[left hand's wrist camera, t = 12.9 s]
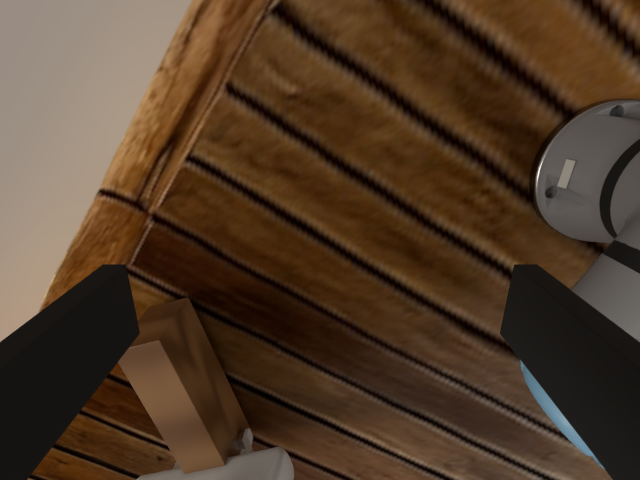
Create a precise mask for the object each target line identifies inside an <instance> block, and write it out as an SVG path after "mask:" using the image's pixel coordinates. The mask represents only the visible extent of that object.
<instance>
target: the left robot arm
mask: <svg viewBox="0 0 640 480" xmlns="http://www.w3.org/2000/svg"><path fill="white" fill-rule="evenodd" d="M530 196H531V201H532V204H533V206H534V209H535V211H536V213H537V214H538V216H539V217H540V218H541V219H542V221H543V222H545V223H546V224H547V225H548V226H549V227H551V228H552V229H554V230H556V231H558V232H560V233H562V234H563V235H566V236H568V237H571V238H574V239H578V240H583V241H591V242H604V243H611V244H610V245H609V246H608V247H607V249H606V250H605V251H604V252H603V253H602V254H601V255H600V256H599V257H598V258H597V260H596V261H595V262H594V263H593V264H592V265H591V267H590V268H589V269H588V270H587V271H586V272H585V274H584V275H583V276H582V277H581V278H580V280H579V281H578V282H577V283H576V284H575V285H574V287H573V288H572V289H571V290H570V289H569V288H567V287H566V286H565V285H563V284H562V283H561V282H559V281H558V280H557V279H555V278H554V277H553V276H551V275H550V274H549V273H547V272H546V271H545V270H543V269H542V268H541V267H539V266H538V265H514V268H513V273H512V278H511V283H510V288H509V292H508V297H507V302H506V307H505V312H504V316H503V321H502V326H501V331H500V334H501V335H502V337H503V338H504V339H505V341H506V342H507V343H508V344H509V346H510V347H511V348H512V350H513V351H514V352H515V354H516V355H517V356H518V357H519V359H520V363H521V369H522V372H523V376H524V379H525V381H526V383H527V385H528V387H529V389H530V391H531V393H532V394H533V396H534V398H535V399H536V401H537V402H538V403H539V405H540V406H541V408H542V409H543V410H544V412H545V413H546V414H547V416H548V417H549V418H550V419H551V420H552V422H553V423H554V424H555V425H556V426H557V427H558V428H559V430H560V431H561V432H562V433H563V434H564V435H565V436H566V437H567V438H568V439H569V440H570V441H571V442H572V443H573V444H574V445H575V446H576V447H577V448H578V449H579V450H581V451H582V452H583V453H584V454H585V455H587V456H592V457H593V458H594V460H595V461H596V462H597V463H598V465H599V466H601V467H602V468H604V469H605V470H606V471H607V472H608V474H609V475H610V476H611V478H612V479H613V480H640V100H633V99H620V100H607V101H602V102H598V103H595V104H592V105H589V106H587V107H585V108H583V109H581V110H579V111H577V112H575V113H574V114H572V115H571V116H569V117H568V118H567V119H565V120H564V121H563V122H562V123H560V124H559V125H558V126H557V127H556V128H555V129H554V130H553V131H552V133H551V134H550V135H549V136H548V137H547V139H546V140H545V142H544V143H543V145H542V146H541V148H540V150H539V151H538V154H537V156H536V158H535V160H534V163H533V166H532V170H531V175H530ZM139 334H140V331H139V326H138V321H137V316H136V312H135V307H134V302H133V297H132V292H131V288H130V283H129V278H128V273H127V268H126V265H102V266H101V267H99V268H98V269H97V270H95V271H94V272H93V273H91V274H90V275H89V276H87V277H86V278H85V279H83V280H82V281H81V282H79V283H78V284H77V285H75V286H74V287H73V288H71V289H70V290H69V291H67V292H66V293H65V294H63V295H62V296H61V297H59V298H58V299H57V300H55V301H54V302H53V303H51V304H50V305H49V306H48V307H46V308H45V309H44V310H42V311H41V312H40V313H38V314H37V315H36V316H34V317H33V318H32V319H30V320H29V321H28V322H26V323H25V324H24V325H22V326H21V327H20V328H18V329H17V330H16V331H14V332H13V333H12V334H10V335H9V336H8V337H6V338H5V339H4V340H2V341H1V342H0V480H27V479H28V478H29V476H30V475H31V474H32V472H33V471H34V470H35V469H36V467H37V466H38V465H39V463H40V462H41V461H42V459H43V458H44V457H45V456H46V454H47V453H48V452H49V450H50V449H51V448H52V447H53V445H54V444H55V443H56V441H57V440H58V439H59V438H60V436H61V435H62V434H63V432H64V431H65V430H66V428H67V427H68V426H69V425H70V423H71V422H72V421H73V419H74V418H75V417H76V416H77V414H78V413H79V412H80V410H81V409H82V408H83V407H84V405H85V404H86V403H87V401H88V400H89V399H90V397H91V396H92V395H93V394H94V392H95V391H96V390H97V388H98V387H99V386H100V385H101V383H102V382H103V381H104V379H105V378H106V377H107V375H108V374H109V373H110V372H111V370H112V369H113V368H114V366H115V365H116V364H117V363H118V361H119V360H120V359H121V357H122V356H123V355H124V354H125V352H126V351H127V350H128V348H129V347H130V346H131V344H132V343H133V342H134V341H135V339H136V338H137V337H138V335H139Z"/></svg>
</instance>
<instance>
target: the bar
mask: <svg viewBox="0 0 640 480" xmlns="http://www.w3.org/2000/svg"><path fill="white" fill-rule="evenodd" d="M138 326H139V331H140V334H139V335H138V337H137V338H136V339H135V341H134V342H133V343H132V344H131V346H130V347H129V348H128V350H127V351H126V352H125V354H124V355H123V356H122V357H121V359H120V360H119V361H118V363H119V364H120V366H121V368H122V370H123V371H124V373H125V375H126V376H127V378H128V380H129V381H130V383H131V385H132V386H133V388H134V390H135V391H136V393H137V395H138V397H139V398H140V400H141V402H142V403H143V405H144V407H145V408H146V410H147V412H148V413H149V415H150V417H151V418H152V420H153V422H154V424H155V425H156V427H157V429H158V430H159V432H160V434H161V435H162V437H163V439H164V440H165V442H166V444H167V445H168V447H169V449H170V451H171V452H172V454H173V456H174V457H175V459H176V461H177V462H178V464H179V466H180V467H181V469H182V471H183V472H184V474H188V473H192V472H197V471H202V470H207V469H211V468H216V467H221V466H225V465H226V462H227V459H228V457H232V456H237V455H240V452H241V449H240V447H239V444H238V443H237V441H236V439H237V435H238V431H239V430H243V429H248V428H250V427H249V424H248V422H247V420H246V418H245V416H244V414H243V412H242V410H241V408H240V405H239V403H238V401H237V399H236V397H235V395H234V393H233V391H232V388H231V386H230V384H229V382H228V380H227V378H226V376H225V374H224V372H223V369H222V367H221V365H220V363H219V361H218V359H217V357H216V355H215V352H214V350H213V348H212V346H211V344H210V342H209V340H208V338H207V336H206V333H205V331H204V329H203V327H202V325H201V323H200V321H199V319H198V316H197V314H196V312H195V310H194V308H193V306H192V304H191V302H190V300H189V297H187V298H183V299H179V300H176V301H172V302H168V303H164V304H160V305H156V306H153V307H149V308H148V310H147V311H146V312H145V313H144V314H143V316H142V317H141V318H140V319H139V320H138ZM250 430H251V429H250ZM251 432H252V431H251ZM252 435H253V433H252ZM253 437H254V435H253ZM252 442H253V440H252ZM251 447H252V445H251Z"/></svg>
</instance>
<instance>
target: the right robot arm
mask: <svg viewBox="0 0 640 480" xmlns="http://www.w3.org/2000/svg"><path fill="white" fill-rule="evenodd" d="M252 440H253V435H252V432H251V430H250V428H248V429H243V430H239V431H238V435H237V439H236V441H237V443H238V444H239V447H240V449H241V452H240V455H237V456H232V457H228V459H227V462H226V465H225V466H221V467H216V468H211V469H207V470H202V471H197V472H192V473H188V474H184V472H183V471H182V469H181V467H180V466H179V464H178V462H176V463H175V466H174V468H173V469H171V470H166V471H161V472H157V473H152V474H147V475H142V476H140V477H139V478H137V479H136V480H294V469H293V465H292V462H291V459H290V457H289V455H288V454H287V452H286V451H285V450H284V449H283V448H282V447H275V448H270V449H265V450H261V451H256V452H254V451H253V449H252V447H251V445H252Z"/></svg>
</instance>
